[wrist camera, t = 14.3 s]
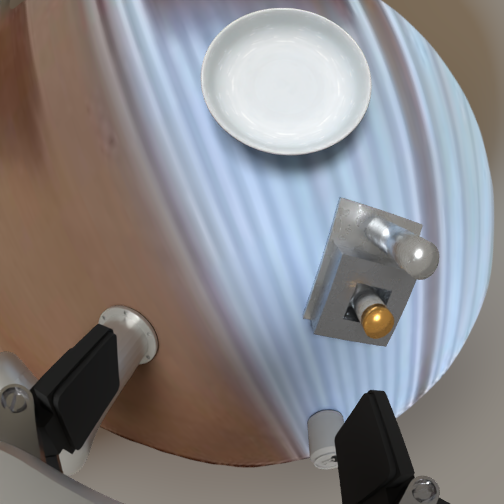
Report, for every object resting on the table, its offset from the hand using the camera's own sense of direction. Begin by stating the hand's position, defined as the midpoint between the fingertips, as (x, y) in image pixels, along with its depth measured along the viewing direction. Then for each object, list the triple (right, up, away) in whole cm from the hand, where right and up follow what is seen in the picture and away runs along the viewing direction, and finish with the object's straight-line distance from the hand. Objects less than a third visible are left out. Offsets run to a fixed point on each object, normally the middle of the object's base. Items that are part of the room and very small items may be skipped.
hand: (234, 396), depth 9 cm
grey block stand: (+18, +2, +32) cm, 36 cm away
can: (+16, -30, +41) cm, 53 cm away
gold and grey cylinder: (+17, -1, +31) cm, 36 cm away
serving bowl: (+5, +28, +25) cm, 38 cm away
